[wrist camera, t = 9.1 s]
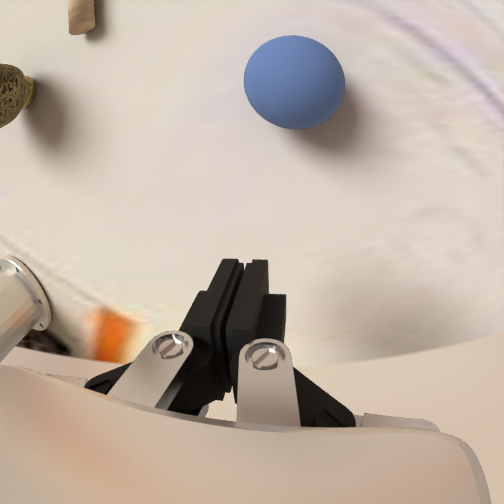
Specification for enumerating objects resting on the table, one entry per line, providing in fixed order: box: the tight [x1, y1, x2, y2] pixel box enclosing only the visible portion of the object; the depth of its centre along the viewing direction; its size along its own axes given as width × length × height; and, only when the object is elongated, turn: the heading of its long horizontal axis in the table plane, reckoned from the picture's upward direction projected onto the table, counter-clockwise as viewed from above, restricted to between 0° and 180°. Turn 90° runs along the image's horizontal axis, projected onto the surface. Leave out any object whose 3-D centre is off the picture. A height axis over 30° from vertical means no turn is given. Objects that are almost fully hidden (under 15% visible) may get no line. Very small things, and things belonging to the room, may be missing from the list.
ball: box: [244, 36, 345, 129], centre depth 16 cm, size 6×6×6 cm
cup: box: [0, 64, 35, 128], centre depth 17 cm, size 8×7×8 cm
